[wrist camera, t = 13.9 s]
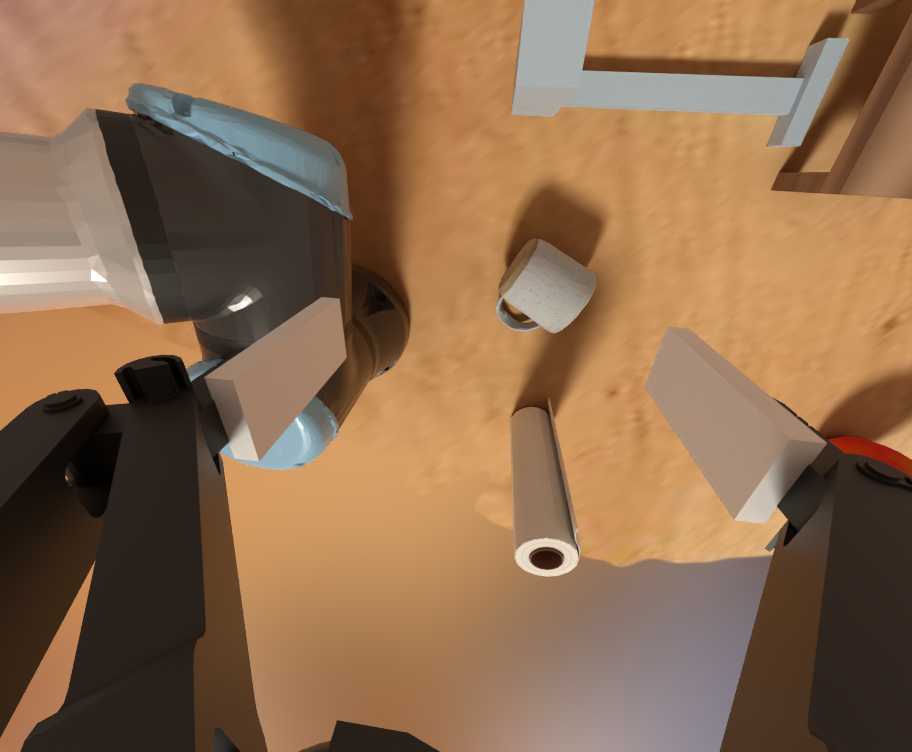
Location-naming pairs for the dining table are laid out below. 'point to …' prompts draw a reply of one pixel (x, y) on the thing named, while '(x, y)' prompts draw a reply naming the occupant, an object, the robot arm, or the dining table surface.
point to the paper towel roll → (541, 496)
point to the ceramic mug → (545, 288)
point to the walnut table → (872, 133)
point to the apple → (873, 452)
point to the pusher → (656, 78)
